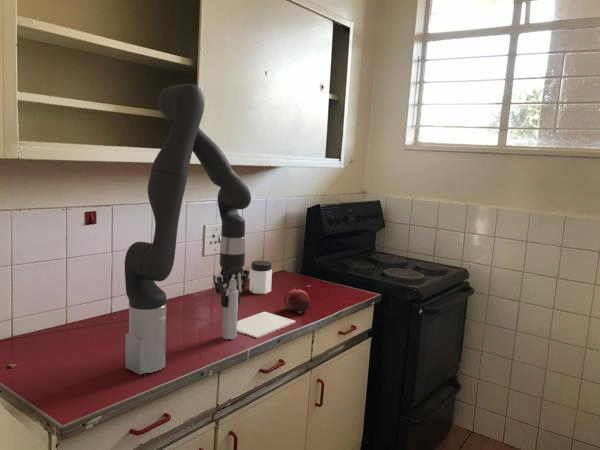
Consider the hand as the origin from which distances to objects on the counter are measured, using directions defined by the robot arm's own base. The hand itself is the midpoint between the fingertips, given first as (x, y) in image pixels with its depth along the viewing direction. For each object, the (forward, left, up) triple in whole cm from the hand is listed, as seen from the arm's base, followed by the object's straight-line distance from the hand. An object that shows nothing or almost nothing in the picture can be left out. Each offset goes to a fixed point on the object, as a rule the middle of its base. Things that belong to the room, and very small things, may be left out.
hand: (230, 305), depth 154 cm
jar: (+45, +26, -11) cm, 53 cm away
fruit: (+35, 0, -11) cm, 37 cm away
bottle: (0, 0, -10) cm, 10 cm away
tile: (+15, 0, -10) cm, 18 cm away
